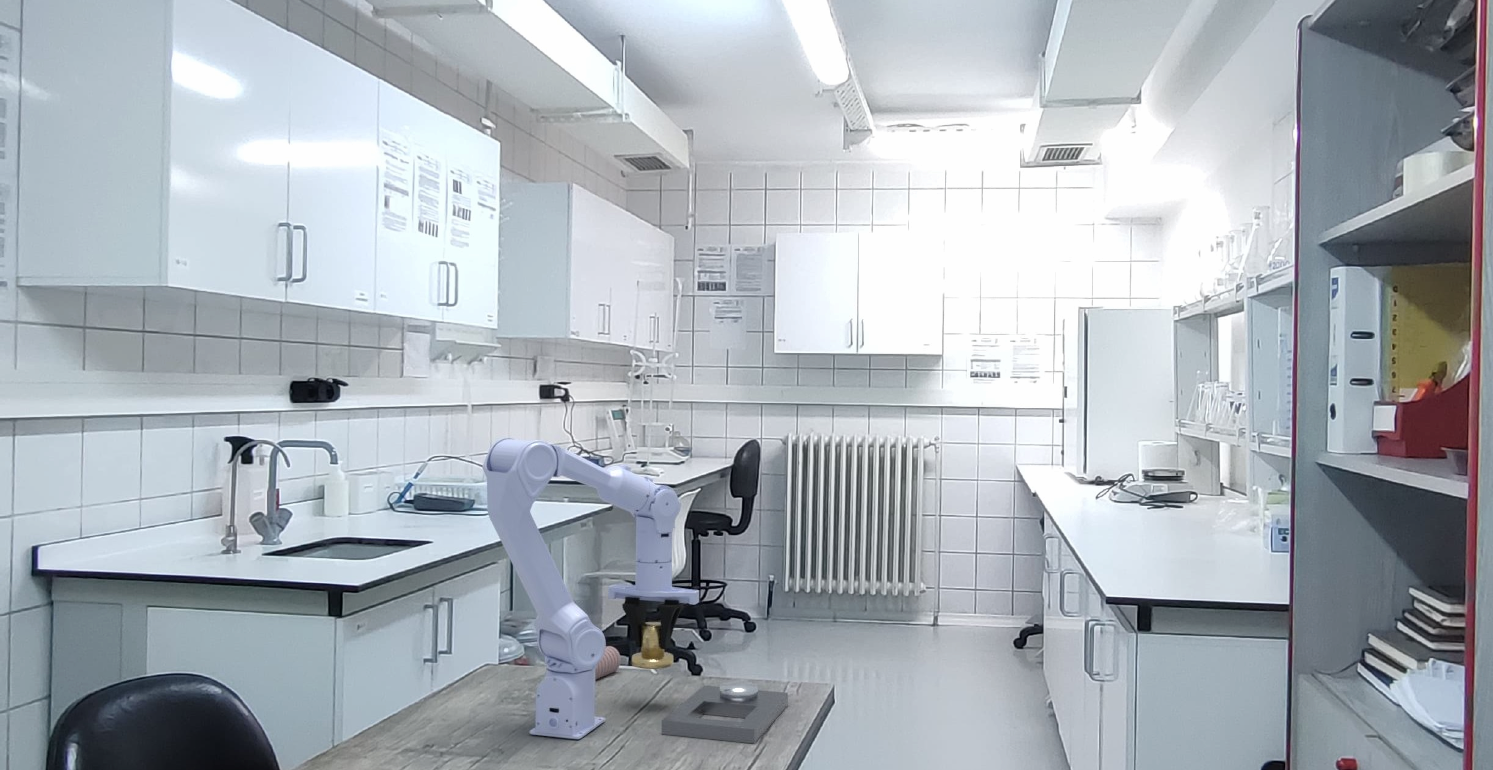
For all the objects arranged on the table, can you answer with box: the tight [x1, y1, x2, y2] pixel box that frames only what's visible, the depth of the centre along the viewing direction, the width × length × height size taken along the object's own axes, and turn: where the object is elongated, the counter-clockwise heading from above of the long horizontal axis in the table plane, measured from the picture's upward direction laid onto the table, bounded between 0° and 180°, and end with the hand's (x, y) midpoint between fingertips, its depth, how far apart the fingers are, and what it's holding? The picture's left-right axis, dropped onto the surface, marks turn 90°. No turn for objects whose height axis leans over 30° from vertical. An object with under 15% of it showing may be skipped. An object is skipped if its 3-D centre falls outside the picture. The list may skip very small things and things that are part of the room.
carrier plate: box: [661, 680, 789, 744], centre depth 167 cm, size 20×14×4 cm
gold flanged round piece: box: [631, 621, 674, 670], centre depth 173 cm, size 6×6×6 cm
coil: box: [544, 645, 622, 681], centre depth 188 cm, size 5×5×18 cm
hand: (652, 647), depth 173 cm, fingers closed on gold flanged round piece, 4 cm apart
